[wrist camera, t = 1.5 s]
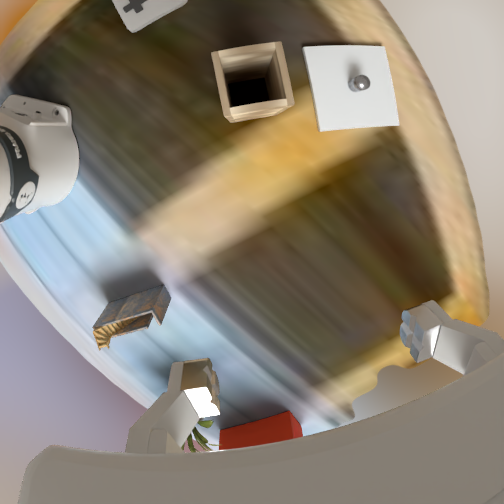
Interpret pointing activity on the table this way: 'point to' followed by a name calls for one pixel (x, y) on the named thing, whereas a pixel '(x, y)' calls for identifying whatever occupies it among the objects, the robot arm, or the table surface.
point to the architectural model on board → (131, 314)
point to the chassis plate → (338, 93)
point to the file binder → (261, 432)
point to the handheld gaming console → (144, 11)
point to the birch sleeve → (253, 67)
